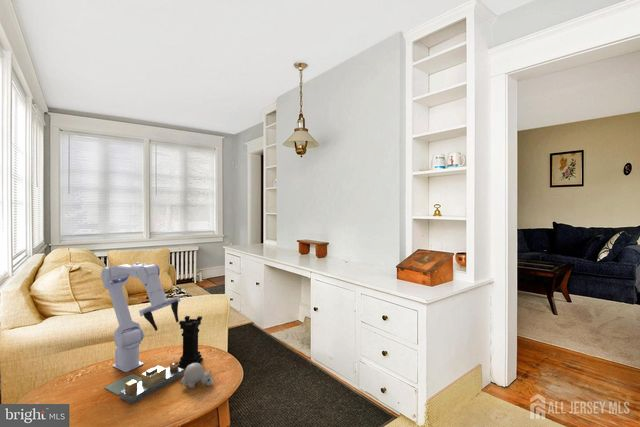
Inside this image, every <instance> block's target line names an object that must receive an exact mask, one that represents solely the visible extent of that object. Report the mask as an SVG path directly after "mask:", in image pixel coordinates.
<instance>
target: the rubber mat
mask: <svg viewBox="0 0 640 427" xmlns="http://www.w3.org/2000/svg"><path fill="white" fill-rule="evenodd" d="M133 379H134V380H136V381H137V383H138V382H140V381H142V377H140V376H138V375H135V374H133V373H130V374H129V375H127V376H124V377H123V378H121V379H119V380H116V381H114V382H112V383H110V384H108V385H106V386H103V387H104V389H105V390H106V391H108V392H110V393H113V394H114V395H117V396H119V397H120V391H122V390H124V389H125V383H127V382H129V381H131V380H133Z"/></svg>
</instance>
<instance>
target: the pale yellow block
mask: <svg viewBox="0 0 640 427" xmlns="http://www.w3.org/2000/svg"><path fill="white" fill-rule="evenodd" d="M166 368H167V367H163V366H161V365H156V366H154V367H151V368H149V369H147V370H145V372H143V373H141V378H142V383H144V384H146V385H148V386H150V385H152V384H154V383H156V382H158V381H160V380H162V379H163V378H165V377H166Z"/></svg>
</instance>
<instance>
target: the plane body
mask: <svg viewBox="0 0 640 427" xmlns="http://www.w3.org/2000/svg"><path fill="white" fill-rule="evenodd" d="M178 365H179V361H172V362H169V366H168V367H165V368H166V377H165V378H163V379H162V380H160V381H158V382H156V383H154V384H152V385H150V386H148V385H146V384H144V383H142V381H140V382H138V383H137V381H136V380H134V379H133V380H131V381H129V382H127V383H125V389H124V390H122V391H120V395H119V398H120V399H121V400H123V401H125V402H127V403H129V404H131V405H135V403H137V402H139V401H140V400H143V399H145V398H146V397H148V396H150V395H152V394H153V393H156V392H157V391H159V390H160V389H162V388H164V387H166V386H167V385H170V384H171V383H173V382H175V381H177V380H178V379H180V378H183V377H184V373H185V368H179V367H178Z"/></svg>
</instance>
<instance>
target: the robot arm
mask: <svg viewBox="0 0 640 427" xmlns="http://www.w3.org/2000/svg"><path fill="white" fill-rule="evenodd" d="M160 273H161V269H160V267H159V265H158V264H156V263H153V264H148V263H141V262H139V261H138V262H134V263H133V264H132V265H130V264H128V263H125V264H121V265H120V264H119V265H114V266H113V265H112V266H108V267H107V266H105V267H103V268H102V270H101V274H100V278H101V281H102V285H103V286H104V288H105V289H107V290H108V293H109V296H110V299H111V303H112V307H113V310H114V313H115V316H116V319H117V323H118V327H117V328H116V329H115V331H114V332H113V337H114V344H115V347H116V348H115V351H114V364H113V365H112V367H113V368H116V369H118V370H121V371H122V372H123V373H128V372H130V371H131V370H134V369H137V368H139V367H141V366H142V365H144V362H142V361H140V345H141V344H142V342H143V340H144V338H145V332H144V330H143V328H142V327H141V325H140V323H139V322H136V321H133V318H132V316H131V313H130V312H131V311H130V310H129V306H128V302H127V299H126V297H125V293H124V290H123V286H125V285H127V282H128V281H129V278H130V277H132V278H135V279H138V280H139V281H140V282H141V284H142V285H143V286H144V288H145V292H146V295H147V296H148V300H149V303H150V305H149V306H147V307H145V308H143V309H141V310H140V309H139V312H138V313H139V315H140V317H142V316H143V317H144V319H145V320H146V321H148V322H149V324H150V325H151V326H152V327H153V329H154V331H155V332H158V326H157V324H156V322H155V319H154V316H153V312H155V311H158V310H160V309H163V308H166V307H168V306H170V308H171V310H172V311H171V312H172V313H173V316H174V319H175V322H176V323H179V322H180V320H179V315H178V314H179V312H178V311H179V309H178V308H179V303H180V302H181V297H180V296H179V295H178V296H175V297H171V298H167V296H166V293H165V290H164V288H163V284H162V281H161V279H160Z"/></svg>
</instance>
